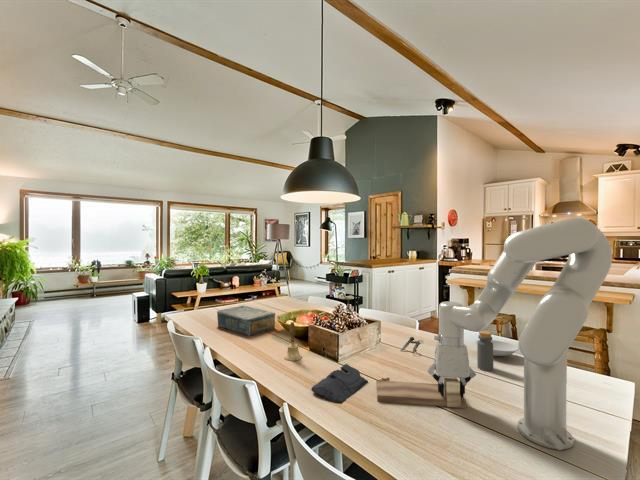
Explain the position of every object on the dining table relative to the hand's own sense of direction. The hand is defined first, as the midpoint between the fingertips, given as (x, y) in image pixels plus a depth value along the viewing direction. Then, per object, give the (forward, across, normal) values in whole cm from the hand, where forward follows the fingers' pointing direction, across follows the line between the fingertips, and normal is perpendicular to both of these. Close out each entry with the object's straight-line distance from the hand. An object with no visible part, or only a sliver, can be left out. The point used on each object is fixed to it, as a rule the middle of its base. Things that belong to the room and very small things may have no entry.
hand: (451, 394), depth 103 cm
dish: (+3, +31, +45) cm, 55 cm away
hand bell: (+3, -61, +31) cm, 69 cm away
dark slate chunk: (+4, -38, +7) cm, 38 cm away
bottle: (+3, +21, +30) cm, 37 cm away
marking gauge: (+2, 0, +2) cm, 3 cm away
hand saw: (+4, -19, +21) cm, 29 cm away
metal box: (+3, -101, +74) cm, 125 cm away
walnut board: (+3, -10, +3) cm, 11 cm away
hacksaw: (+3, -4, +52) cm, 53 cm away
